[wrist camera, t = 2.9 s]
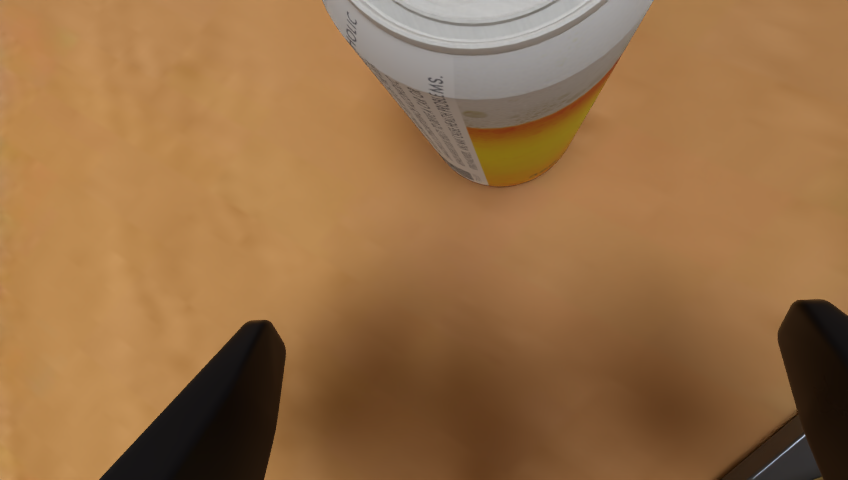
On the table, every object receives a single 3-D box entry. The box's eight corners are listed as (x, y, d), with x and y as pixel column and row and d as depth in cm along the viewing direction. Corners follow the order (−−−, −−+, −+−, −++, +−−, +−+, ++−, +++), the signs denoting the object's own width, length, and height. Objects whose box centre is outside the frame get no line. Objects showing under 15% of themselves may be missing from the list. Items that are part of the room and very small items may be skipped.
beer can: (603, 85, 21) (808, -269, 7) (529, 214, 22) (565, 152, 7) (475, 22, 22) (403, -415, 7) (406, 147, 23) (211, -32, 8)
